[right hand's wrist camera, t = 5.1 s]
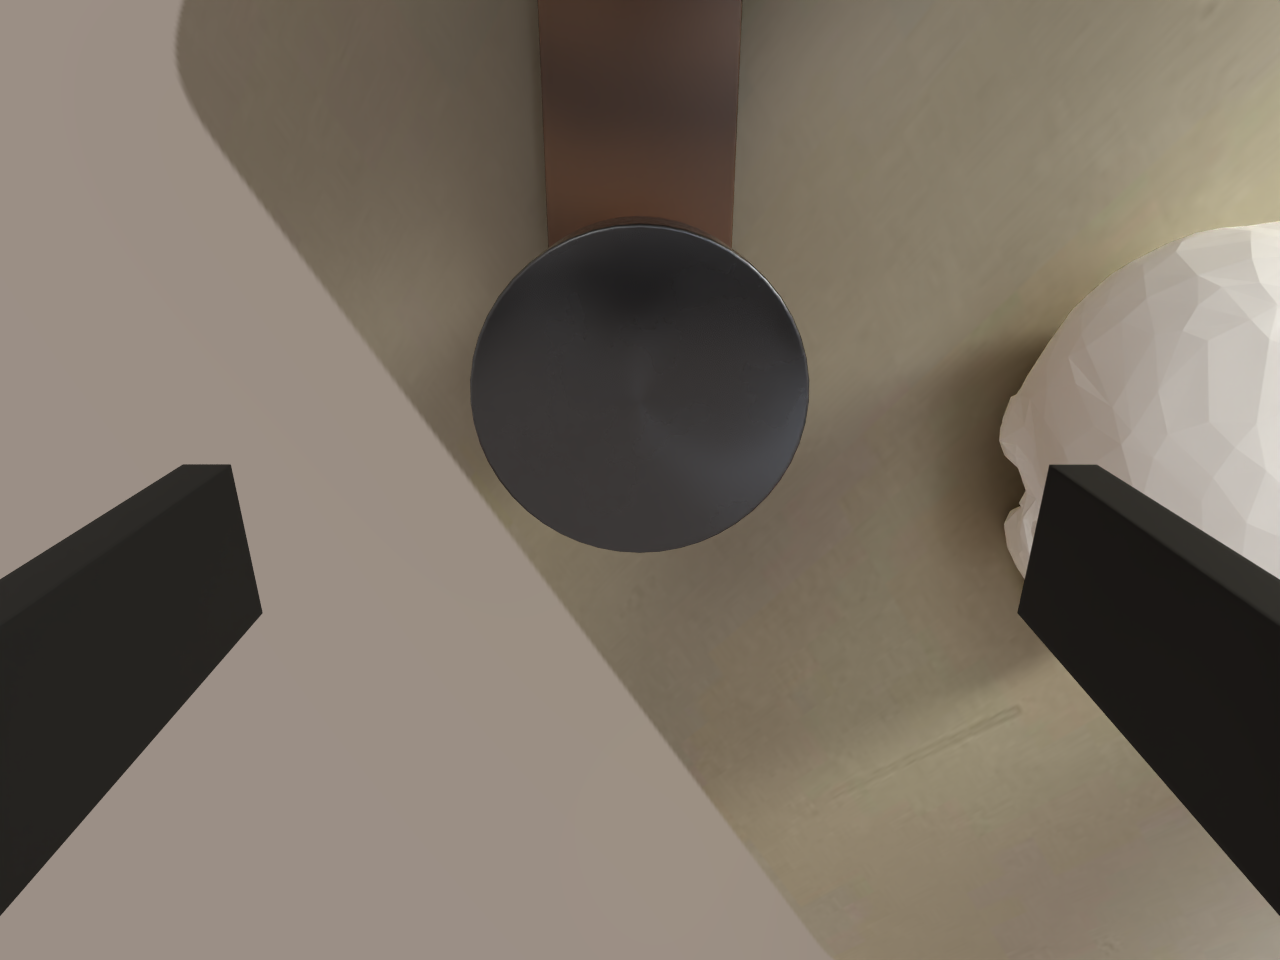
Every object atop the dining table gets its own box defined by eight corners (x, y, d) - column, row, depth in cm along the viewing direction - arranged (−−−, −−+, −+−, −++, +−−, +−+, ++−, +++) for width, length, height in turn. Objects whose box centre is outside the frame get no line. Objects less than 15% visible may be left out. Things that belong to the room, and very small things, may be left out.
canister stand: (528, -317, 27) (445, -684, 16) (751, -317, 27) (834, -683, 16) (557, 387, 37) (519, 485, 25) (722, 387, 37) (759, 485, 25)
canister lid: (485, 215, 22) (454, 223, 18) (793, 215, 22) (825, 223, 18) (506, 498, 25) (483, 553, 22) (773, 498, 25) (796, 553, 22)
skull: (969, 652, 42) (1160, 903, 27) (960, 248, 34) (1223, 296, 19) (1210, 611, 42) (1536, 845, 27) (1258, 192, 34) (1758, 200, 19)
